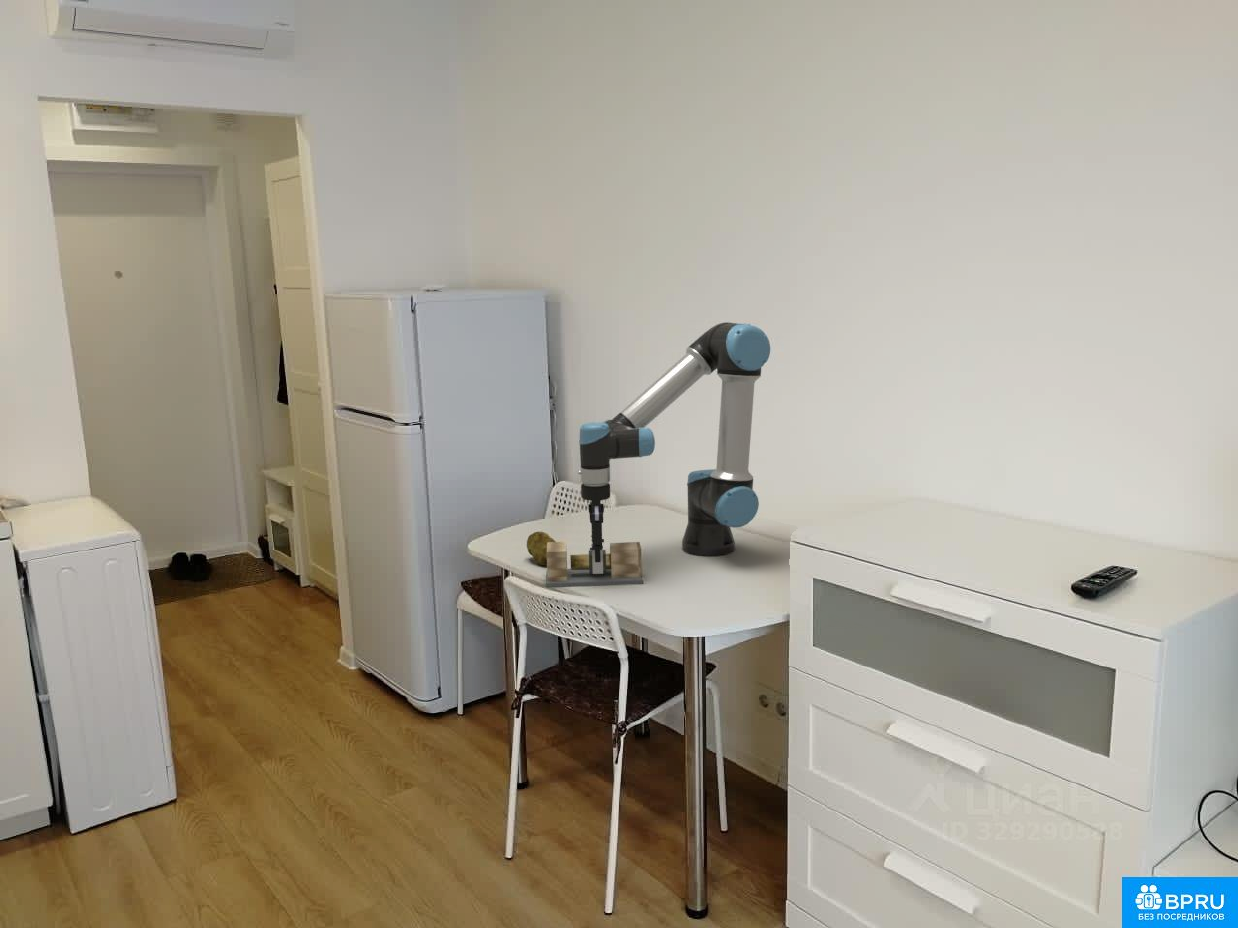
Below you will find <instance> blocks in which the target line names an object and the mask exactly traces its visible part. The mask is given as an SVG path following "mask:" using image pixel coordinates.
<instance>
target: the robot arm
mask: <svg viewBox="0 0 1238 928" xmlns="http://www.w3.org/2000/svg"><path fill="white" fill-rule="evenodd" d="M685 350H686V351H685V355H683V356H682V357H681V358H680V359H678V361H676V362H675V363H674V364H673V365H672V366H671V367H669V369H667V371H665V372H664V373H663V374H662V375H661V376H660V377H658V378H657V379H656V380H655V381H654V382H652V384H651V385H650V386H649V387H647V388H646V389H645V390H644V391H643V392H642V393H640V395H638V396H637V397H636V398H635V399H634V400H633V401H632V402H631V403H630V404H628V405H627V406H626V407H625V408H623V410H621V411H620V412H619V413H618V414H616V415H615V416H614V417H613V418H612V419H606V420H604V421H602V422H587V423H583V424H581V426H580V427H579V442H578V444H579V455H580V456H579V457H580V458H579V459H580V460H579V461H580V470H579V471H578V472H577V474H578V475H580V482H581V483H582V484H581V485H580V496H581V498H582V500H584V501H590V503H589V504H587V505H588V506H587V507H588V514H589V522H590V524H591V535H590V537H591V547H589V550H592V565H593V574H603V550H604V547H603V543H605V539H604V538H603V524H604V513H605V506H604V503H601V501H605V500H608V499H610V497H611V484H610V482H611V465H610V464H611V463H610V462H611V461H610V460H617V459H619V460H620V459H631V458H643V457H648V456H651V455H652V454H653V453H654V451H655V446H656V443H655V442H656V441H655V435H654V432H653V430H652V429H651V428H649V427H648V425H649V424H650V423H652V422H653V420H655V419H656V418H657V417H659V415H660V414H662V412H664V411H665V410H666V409H667V408H668V407H670V405H672V404H673V403H674V402H675V401H677V400H678V398H679V397H680V396H681V395H683V394H684V393H685V392H686V391H688V389H690V388H691V387H692V386H693V385H694V384H695V383H696V382H698V381H699V380H700V379H701V378H702V377H703V376H705V375H707V376H710V375H711V374H712V373H713V372H715V371H716V375H717V376H718V377H719V378H720V379H721V395H720V407H719V408H720V411H719V425H718V427H719V428H718V439H717V452H716V453H717V454H716V455H717V457H716V467H715V469H712V468H711V469H700V470H694V471H690V472H689V474H688V475H687V484H686V485H687V525H686V527H685V531H684V534H683V537H682V541H681V549H682V550H683V551H684V552H685V553H688V554H690V555H695V556H708V557H709V556H710V557H711V556H722V555H726V554H731V553H732V552H734V551H735V549H736V541H735V537H734V534H733V531H732V529H731V528H741V527H744V526H746V525H747V524H749V523H750V522H751V521H753V520H754V518H755V516H756V515H757V513H758V510H759V505H760V504H759V503H760V502H759V497H758V495H757V494H756V492H755V490H754V489H753V488H754V476H753V475H752V474H751V472H750V470H749V465H750V464H749V463H750V450H751V449H750V448H751V435H752V422H753V409H754V408H753V407H754V392H755V384H756V382H757V380H758V379H760V378H761V376H762V367H764V365H765V363H767V362H768V360H769V357H770V354H771V345H770V340H769V337H768V336H767V334H766V333H765V331H764V330H762V329H761V328H759V327H758V326H755V325H751V324H750V323H736V322H735V323H734V322H720V323H718V324H715V325H714V326H712V327H710V328H709V329H708V330H706V331H705V332H704V333H703V334H702V335H700V336H699V337H698V338H697V339H695V340H694V341H693V342H692V343H691V344H690V345H689V346H688V347H687V348H686V349H685Z"/></svg>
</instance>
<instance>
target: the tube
mask: <svg viewBox="0 0 1238 928" xmlns="http://www.w3.org/2000/svg"><path fill="white" fill-rule="evenodd" d="M570 569H571V570H589V574H593V565H592V550H590V549H588V554H570ZM606 569H611V554H610V553H606V549H603V573H606Z"/></svg>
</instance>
